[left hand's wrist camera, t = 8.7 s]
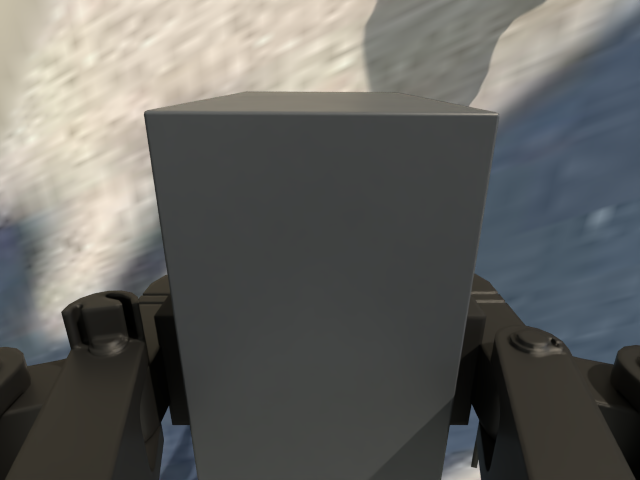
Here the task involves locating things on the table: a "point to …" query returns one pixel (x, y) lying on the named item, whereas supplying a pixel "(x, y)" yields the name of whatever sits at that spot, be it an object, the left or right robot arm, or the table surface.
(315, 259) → the beam
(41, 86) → the table surface
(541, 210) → the table surface
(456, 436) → the table surface
